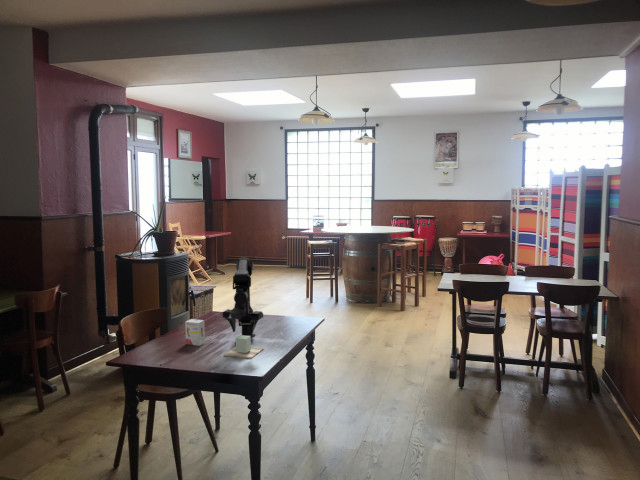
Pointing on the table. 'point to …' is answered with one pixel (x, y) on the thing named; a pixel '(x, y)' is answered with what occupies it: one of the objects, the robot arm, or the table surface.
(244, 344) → the mint green box
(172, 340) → the table surface
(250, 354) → the post board
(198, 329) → the ink box
